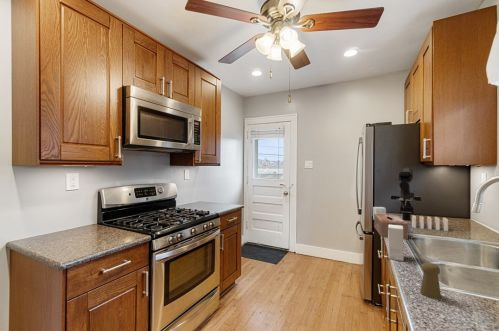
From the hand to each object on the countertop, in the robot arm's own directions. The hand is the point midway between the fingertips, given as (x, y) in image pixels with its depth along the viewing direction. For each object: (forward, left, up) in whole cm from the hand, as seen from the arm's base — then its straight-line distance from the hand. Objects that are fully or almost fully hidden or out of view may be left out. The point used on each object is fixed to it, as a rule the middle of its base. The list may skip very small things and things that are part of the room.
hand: (404, 209), depth 174 cm
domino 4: (0, +24, -12) cm, 27 cm away
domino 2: (0, +15, -12) cm, 19 cm away
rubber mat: (0, +13, -13) cm, 18 cm away
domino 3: (0, +19, -12) cm, 23 cm away
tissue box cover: (+20, -12, -14) cm, 27 cm away
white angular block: (0, +6, -12) cm, 13 cm away
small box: (-16, -15, -13) cm, 26 cm away
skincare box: (+67, -13, -13) cm, 70 cm away
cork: (+101, -6, -13) cm, 102 cm away
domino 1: (0, +10, -12) cm, 16 cm away
